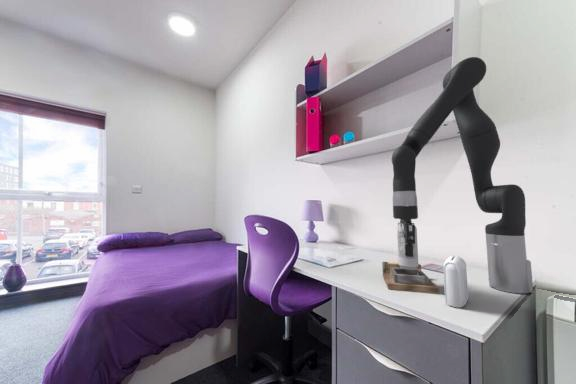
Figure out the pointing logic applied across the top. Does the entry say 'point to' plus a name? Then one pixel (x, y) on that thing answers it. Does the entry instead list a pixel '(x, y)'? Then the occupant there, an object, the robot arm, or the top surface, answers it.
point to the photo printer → (455, 281)
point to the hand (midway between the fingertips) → (406, 254)
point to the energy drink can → (403, 260)
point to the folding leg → (387, 266)
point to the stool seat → (409, 281)
